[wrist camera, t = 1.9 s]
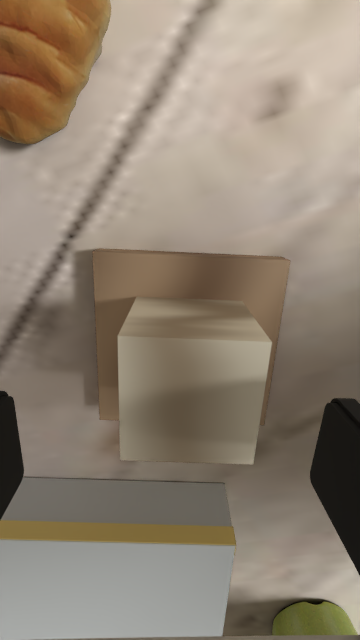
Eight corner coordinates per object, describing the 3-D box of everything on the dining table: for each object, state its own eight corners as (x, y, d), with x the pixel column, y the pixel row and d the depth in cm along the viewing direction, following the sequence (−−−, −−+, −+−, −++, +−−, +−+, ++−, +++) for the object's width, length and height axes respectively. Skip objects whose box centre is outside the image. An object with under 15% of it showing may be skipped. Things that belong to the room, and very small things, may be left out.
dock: (225, 482, 20) (236, 545, 16) (210, 604, 24) (216, 677, 20) (3, 476, 20) (-38, 538, 16) (25, 600, 24) (-4, 674, 20)
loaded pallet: (280, 256, 16) (345, 284, 10) (257, 410, 19) (296, 506, 12) (99, 248, 15) (49, 271, 9) (105, 404, 18) (69, 499, 12)
